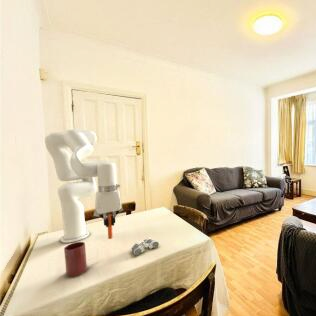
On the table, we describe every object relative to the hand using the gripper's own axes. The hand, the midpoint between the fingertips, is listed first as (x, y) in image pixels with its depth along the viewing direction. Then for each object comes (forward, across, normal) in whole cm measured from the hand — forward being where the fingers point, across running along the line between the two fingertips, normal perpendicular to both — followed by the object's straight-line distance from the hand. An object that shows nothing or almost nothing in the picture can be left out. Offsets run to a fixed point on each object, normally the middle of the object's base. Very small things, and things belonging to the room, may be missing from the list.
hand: (109, 225), depth 98 cm
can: (+14, +14, +7) cm, 21 cm away
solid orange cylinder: (+7, 0, 0) cm, 7 cm away
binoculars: (+14, -13, +7) cm, 21 cm away
